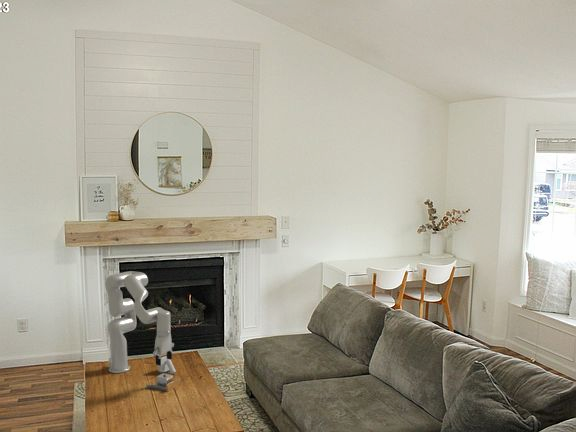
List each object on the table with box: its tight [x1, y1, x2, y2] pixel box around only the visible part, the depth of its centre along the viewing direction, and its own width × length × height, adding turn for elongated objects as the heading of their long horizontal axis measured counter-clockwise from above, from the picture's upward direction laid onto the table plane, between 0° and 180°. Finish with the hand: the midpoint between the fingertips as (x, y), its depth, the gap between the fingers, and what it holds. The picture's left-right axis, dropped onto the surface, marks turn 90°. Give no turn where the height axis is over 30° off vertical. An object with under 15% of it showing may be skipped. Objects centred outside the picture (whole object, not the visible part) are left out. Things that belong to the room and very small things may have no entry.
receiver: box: [146, 377, 182, 393], centre depth 322 cm, size 15×14×4 cm
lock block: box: [156, 372, 174, 387], centre depth 322 cm, size 7×6×7 cm
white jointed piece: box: [156, 355, 177, 375], centre depth 341 cm, size 8×10×10 cm
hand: (163, 362), depth 321 cm, fingers open, 9 cm apart
